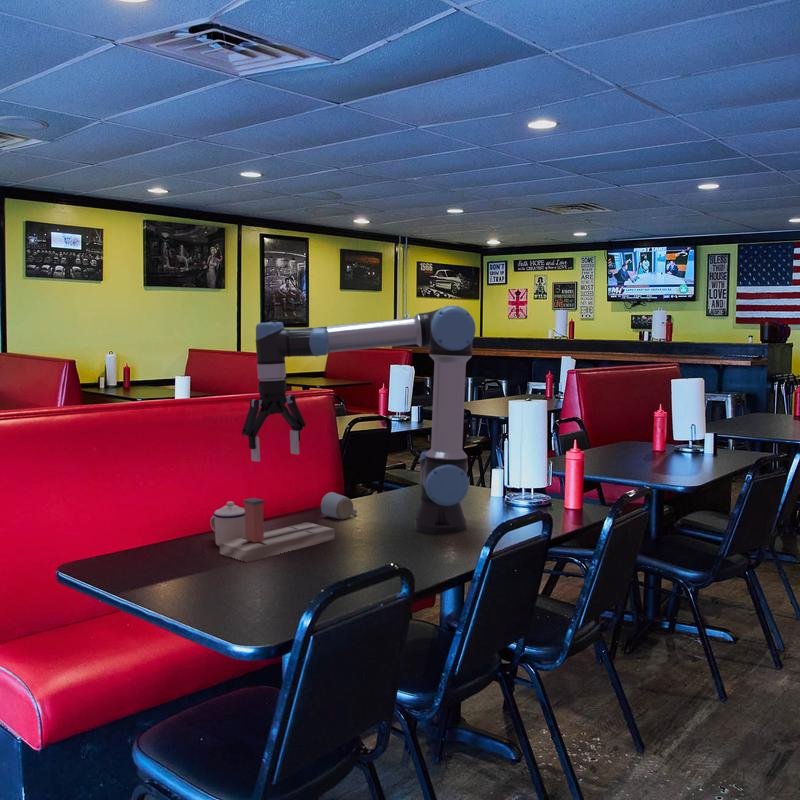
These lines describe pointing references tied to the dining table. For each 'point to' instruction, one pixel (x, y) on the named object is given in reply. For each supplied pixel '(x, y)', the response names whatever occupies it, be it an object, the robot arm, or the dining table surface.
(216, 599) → the dining table surface
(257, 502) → the fader tab
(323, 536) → the panel
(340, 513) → the ceramic mug
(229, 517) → the teacup with lid
